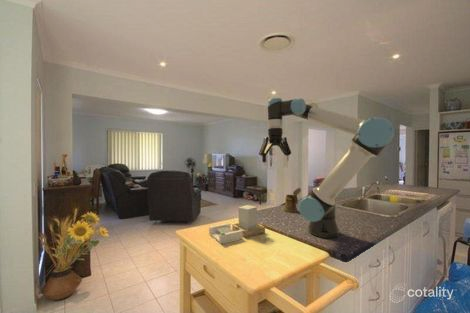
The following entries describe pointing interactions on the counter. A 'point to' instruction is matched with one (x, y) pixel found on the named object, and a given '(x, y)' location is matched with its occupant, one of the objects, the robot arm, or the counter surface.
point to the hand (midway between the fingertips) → (275, 167)
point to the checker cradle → (225, 234)
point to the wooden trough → (248, 233)
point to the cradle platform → (224, 230)
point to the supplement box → (247, 217)
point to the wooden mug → (291, 201)
